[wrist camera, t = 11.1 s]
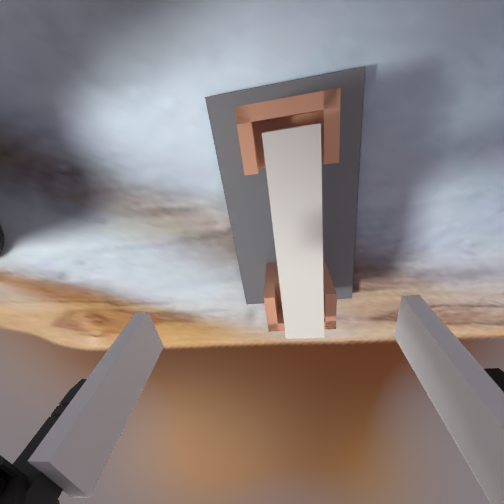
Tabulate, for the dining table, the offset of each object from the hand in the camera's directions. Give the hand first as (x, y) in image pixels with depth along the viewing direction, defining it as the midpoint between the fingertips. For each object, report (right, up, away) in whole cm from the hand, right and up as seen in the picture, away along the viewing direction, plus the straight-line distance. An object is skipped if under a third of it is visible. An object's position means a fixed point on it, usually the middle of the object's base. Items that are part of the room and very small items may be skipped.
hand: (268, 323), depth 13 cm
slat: (+4, +6, +13) cm, 15 cm away
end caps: (+4, +9, +19) cm, 21 cm away
